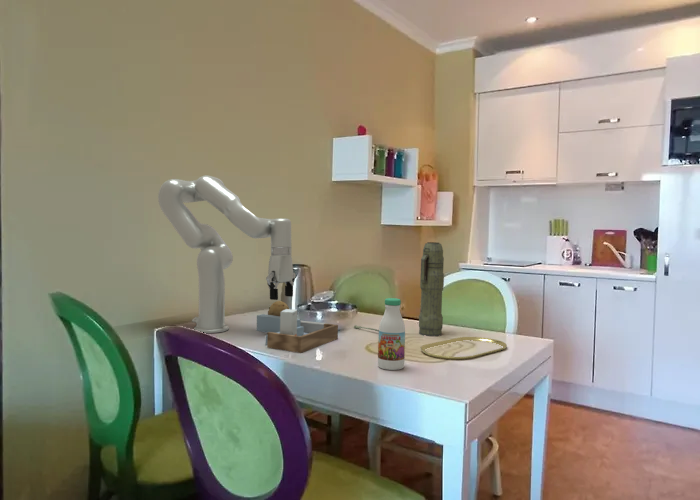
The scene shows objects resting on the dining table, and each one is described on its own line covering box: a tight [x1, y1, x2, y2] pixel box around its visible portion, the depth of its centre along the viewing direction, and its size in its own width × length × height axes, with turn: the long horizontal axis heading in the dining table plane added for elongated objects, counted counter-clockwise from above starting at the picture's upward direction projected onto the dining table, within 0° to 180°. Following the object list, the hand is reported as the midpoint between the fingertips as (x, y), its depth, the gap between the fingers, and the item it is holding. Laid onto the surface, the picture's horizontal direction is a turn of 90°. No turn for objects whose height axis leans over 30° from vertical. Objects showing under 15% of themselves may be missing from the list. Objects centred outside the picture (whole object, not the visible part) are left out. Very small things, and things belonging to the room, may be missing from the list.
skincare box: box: [280, 308, 298, 336], centre depth 175 cm, size 6×4×12 cm
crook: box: [256, 313, 305, 346], centre depth 188 cm, size 20×20×6 cm
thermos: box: [418, 241, 445, 337], centre depth 199 cm, size 9×12×35 cm
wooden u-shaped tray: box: [266, 322, 339, 354], centre depth 180 cm, size 13×24×5 cm, turn 153°
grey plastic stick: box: [301, 320, 330, 334], centre depth 197 cm, size 12×3×4 cm, turn 68°
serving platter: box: [420, 336, 508, 361], centre depth 176 cm, size 19×35×2 cm, turn 132°
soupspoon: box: [353, 325, 379, 333], centre depth 199 cm, size 22×3×7 cm
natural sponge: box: [267, 300, 290, 316], centre depth 208 cm, size 9×9×10 cm
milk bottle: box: [377, 297, 406, 371], centre depth 152 cm, size 8×8×20 cm
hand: (281, 297), depth 193 cm, fingers open, 9 cm apart
